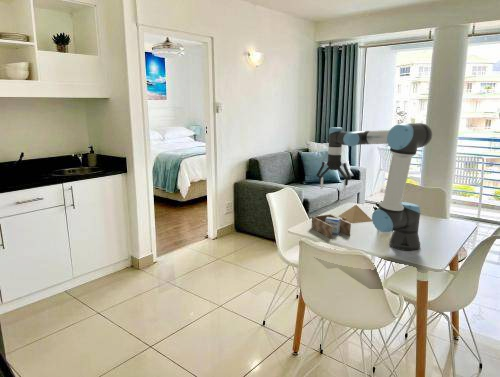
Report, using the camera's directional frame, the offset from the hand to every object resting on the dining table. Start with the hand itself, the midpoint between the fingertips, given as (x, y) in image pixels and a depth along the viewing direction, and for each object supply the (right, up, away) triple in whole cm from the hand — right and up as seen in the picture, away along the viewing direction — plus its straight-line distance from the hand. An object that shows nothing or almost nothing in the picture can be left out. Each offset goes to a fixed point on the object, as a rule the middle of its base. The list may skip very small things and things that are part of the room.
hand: (332, 189), depth 226 cm
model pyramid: (+19, -20, +21) cm, 34 cm away
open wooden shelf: (-2, -24, -4) cm, 25 cm away
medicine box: (-2, -25, -6) cm, 26 cm away
